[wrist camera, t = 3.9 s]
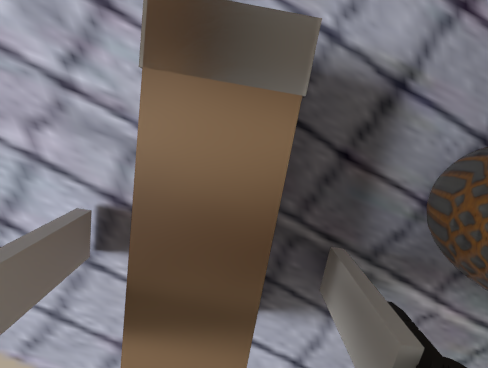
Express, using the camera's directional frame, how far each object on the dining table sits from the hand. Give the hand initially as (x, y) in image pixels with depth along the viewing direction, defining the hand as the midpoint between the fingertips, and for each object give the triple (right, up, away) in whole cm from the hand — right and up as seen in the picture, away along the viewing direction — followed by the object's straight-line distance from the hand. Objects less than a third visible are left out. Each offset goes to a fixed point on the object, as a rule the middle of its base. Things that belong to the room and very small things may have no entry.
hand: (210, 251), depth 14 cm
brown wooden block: (0, +3, 0) cm, 3 cm away
